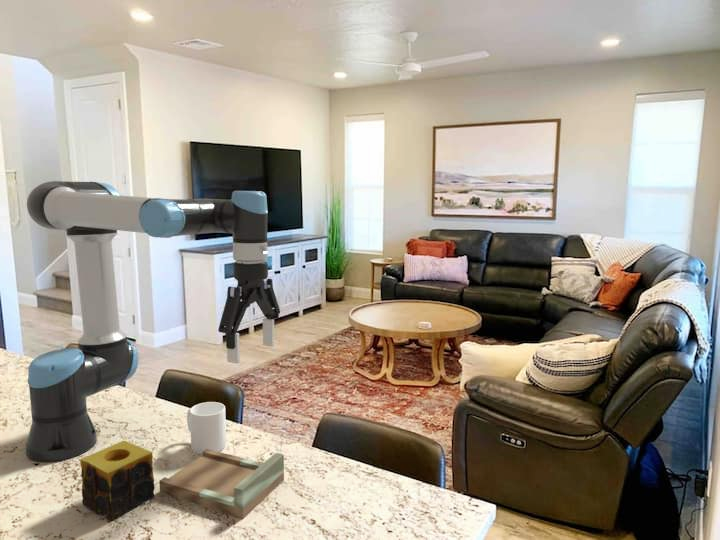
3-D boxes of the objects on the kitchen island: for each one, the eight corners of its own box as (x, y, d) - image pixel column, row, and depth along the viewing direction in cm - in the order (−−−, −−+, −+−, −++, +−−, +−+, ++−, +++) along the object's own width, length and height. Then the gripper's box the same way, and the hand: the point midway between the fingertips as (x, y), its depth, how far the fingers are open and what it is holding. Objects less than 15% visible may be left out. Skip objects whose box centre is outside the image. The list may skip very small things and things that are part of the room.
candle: (110, 523, 99) (107, 474, 97) (80, 505, 104) (77, 459, 103) (156, 497, 108) (154, 452, 106) (126, 482, 113) (124, 439, 111)
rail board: (159, 493, 109) (158, 466, 108) (207, 460, 122) (206, 436, 122) (243, 518, 101) (242, 490, 100) (284, 480, 114) (283, 454, 113)
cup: (206, 459, 123) (205, 418, 121) (174, 444, 130) (173, 406, 128) (233, 445, 130) (232, 407, 128) (202, 432, 136) (200, 395, 135)
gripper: (229, 269, 102) (231, 373, 105) (294, 256, 125) (294, 341, 128) (199, 266, 105) (202, 367, 108) (267, 254, 128) (268, 337, 131)
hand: (252, 353), depth 118 cm, fingers open, 13 cm apart
